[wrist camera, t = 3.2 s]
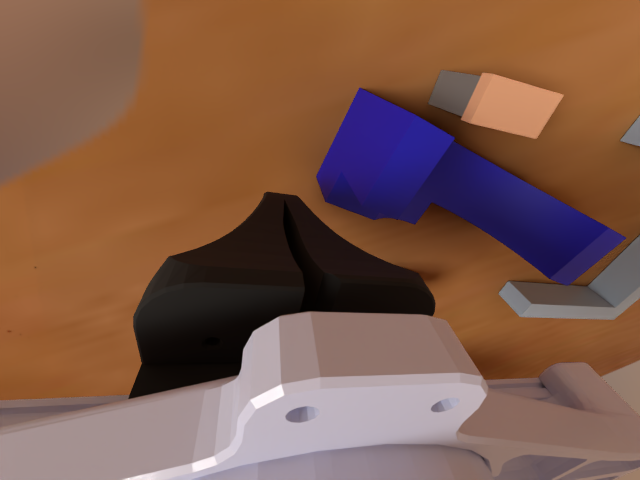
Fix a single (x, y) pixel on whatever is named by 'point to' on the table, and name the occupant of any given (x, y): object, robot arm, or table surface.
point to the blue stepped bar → (452, 188)
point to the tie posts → (495, 102)
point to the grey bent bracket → (584, 301)
